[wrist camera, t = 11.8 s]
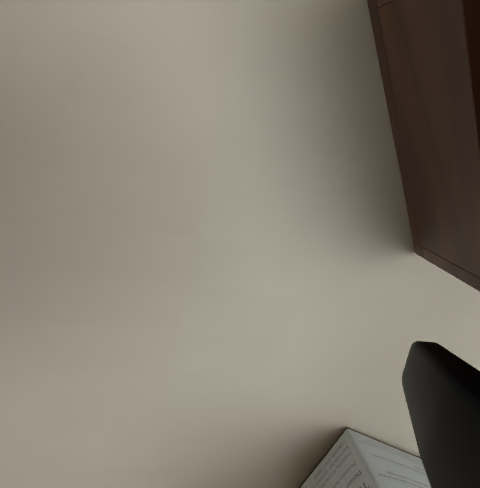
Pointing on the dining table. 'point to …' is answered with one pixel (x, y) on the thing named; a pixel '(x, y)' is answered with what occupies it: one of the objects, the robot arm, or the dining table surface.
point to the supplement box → (367, 466)
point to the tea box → (435, 122)
